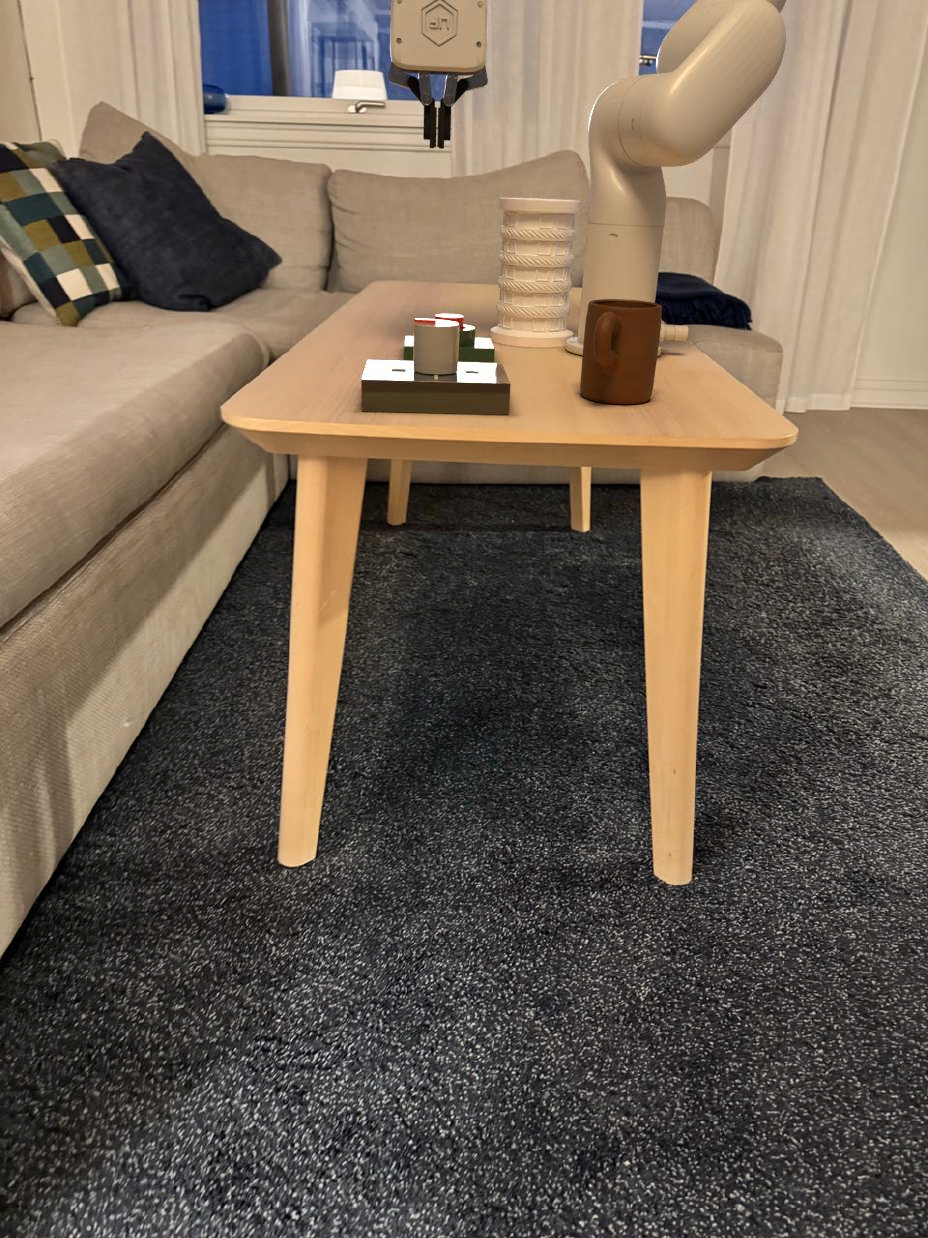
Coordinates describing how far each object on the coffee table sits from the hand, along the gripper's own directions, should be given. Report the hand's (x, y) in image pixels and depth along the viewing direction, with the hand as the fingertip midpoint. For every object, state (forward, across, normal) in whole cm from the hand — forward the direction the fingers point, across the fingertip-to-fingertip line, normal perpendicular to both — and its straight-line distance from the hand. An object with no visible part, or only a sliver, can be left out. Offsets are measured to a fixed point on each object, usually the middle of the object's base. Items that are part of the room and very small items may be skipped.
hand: (436, 147), depth 100 cm
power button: (+20, +2, +4) cm, 20 cm away
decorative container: (+23, +14, +18) cm, 33 cm away
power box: (+23, +2, +4) cm, 24 cm away
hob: (+23, 0, -22) cm, 32 cm away
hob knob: (+20, 0, -22) cm, 30 cm away
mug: (+23, +18, -20) cm, 36 cm away
